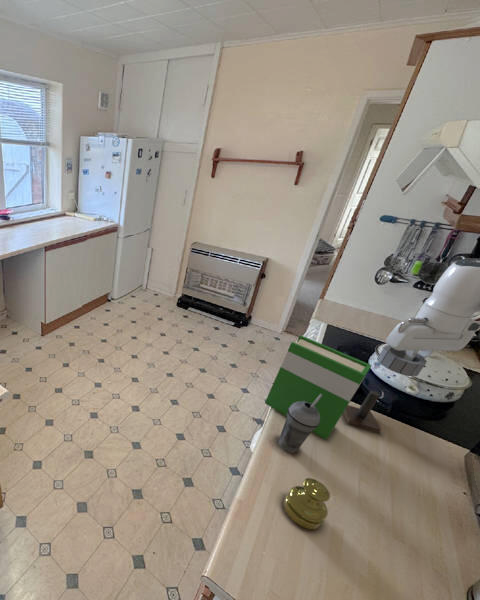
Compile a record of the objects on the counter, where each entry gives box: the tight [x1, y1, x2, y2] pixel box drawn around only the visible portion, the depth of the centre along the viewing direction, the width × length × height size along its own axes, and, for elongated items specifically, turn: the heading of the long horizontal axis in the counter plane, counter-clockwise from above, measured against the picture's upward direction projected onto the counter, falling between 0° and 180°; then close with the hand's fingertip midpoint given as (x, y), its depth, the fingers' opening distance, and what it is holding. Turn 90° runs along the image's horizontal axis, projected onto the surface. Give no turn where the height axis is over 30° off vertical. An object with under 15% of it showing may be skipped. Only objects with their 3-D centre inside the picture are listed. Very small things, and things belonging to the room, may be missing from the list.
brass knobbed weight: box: [283, 477, 331, 530], centre depth 72 cm, size 7×7×10 cm
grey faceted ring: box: [376, 344, 428, 377], centre depth 89 cm, size 9×9×4 cm
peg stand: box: [342, 390, 381, 434], centre depth 99 cm, size 8×8×11 cm
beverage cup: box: [278, 394, 322, 454], centre depth 86 cm, size 7×7×20 cm
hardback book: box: [264, 334, 372, 440], centre depth 96 cm, size 18×7×24 cm, turn 39°
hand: (412, 361), depth 90 cm, fingers closed on grey faceted ring
